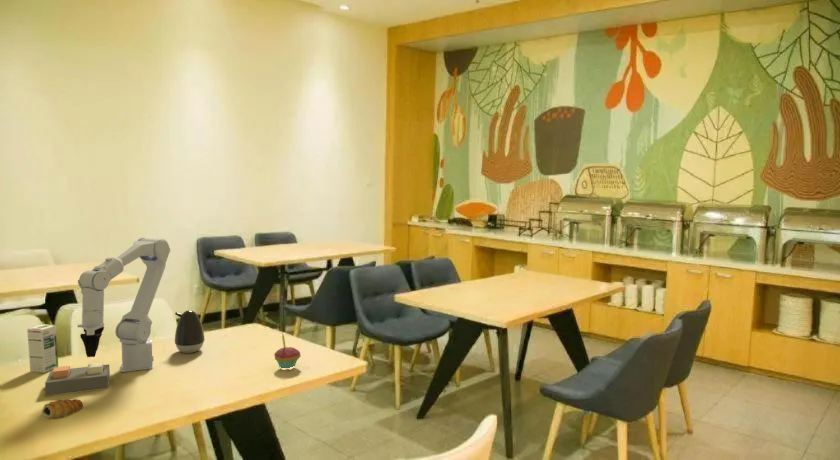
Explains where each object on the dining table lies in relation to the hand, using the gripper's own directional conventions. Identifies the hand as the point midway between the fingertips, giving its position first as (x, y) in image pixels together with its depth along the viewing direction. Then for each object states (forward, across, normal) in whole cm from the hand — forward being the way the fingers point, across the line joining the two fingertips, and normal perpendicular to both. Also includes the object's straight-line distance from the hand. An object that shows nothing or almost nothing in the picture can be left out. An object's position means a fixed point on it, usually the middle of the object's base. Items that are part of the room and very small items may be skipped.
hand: (92, 353), depth 180 cm
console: (+10, 0, -3) cm, 10 cm away
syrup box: (+10, -21, -15) cm, 28 cm away
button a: (+7, 0, +1) cm, 7 cm away
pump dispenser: (+7, -24, +30) cm, 39 cm away
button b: (+8, 0, -8) cm, 11 cm away
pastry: (+11, +20, -6) cm, 24 cm away
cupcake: (+7, +7, +59) cm, 60 cm away
